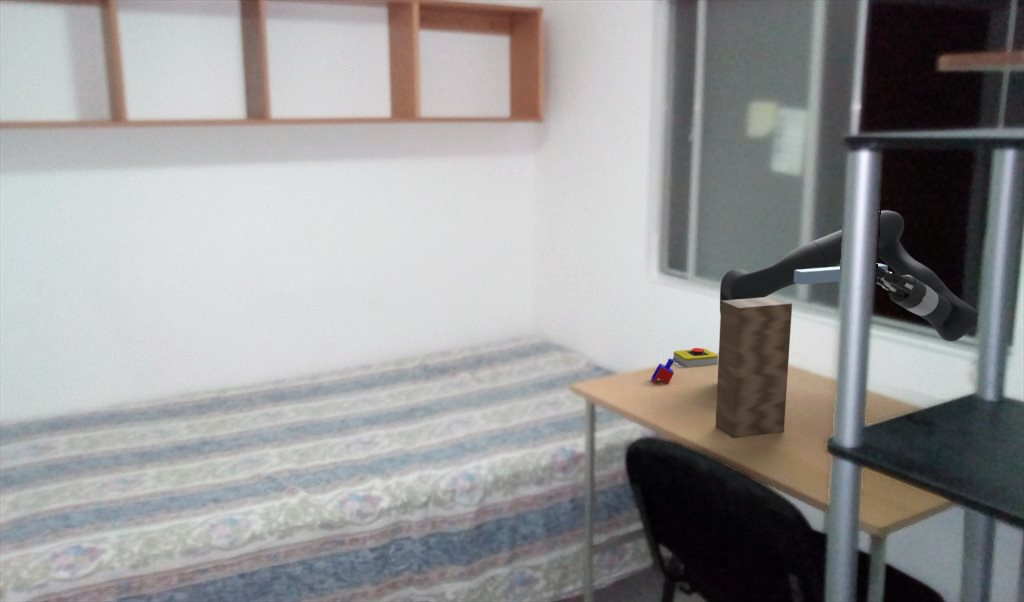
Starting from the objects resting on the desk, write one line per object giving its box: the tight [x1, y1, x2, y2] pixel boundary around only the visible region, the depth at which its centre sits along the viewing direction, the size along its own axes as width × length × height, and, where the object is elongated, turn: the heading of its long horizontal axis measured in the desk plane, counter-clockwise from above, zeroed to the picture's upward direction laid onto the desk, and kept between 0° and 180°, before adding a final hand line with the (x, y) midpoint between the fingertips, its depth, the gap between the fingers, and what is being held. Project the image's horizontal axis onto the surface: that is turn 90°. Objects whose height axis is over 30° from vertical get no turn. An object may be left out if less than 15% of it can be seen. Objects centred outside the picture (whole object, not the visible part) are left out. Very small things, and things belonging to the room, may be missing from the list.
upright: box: [715, 296, 793, 439], centre depth 194 cm, size 14×8×32 cm, turn 105°
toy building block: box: [650, 357, 675, 384], centre depth 233 cm, size 4×4×8 cm
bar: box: [794, 263, 889, 285], centre depth 195 cm, size 24×3×3 cm, turn 105°
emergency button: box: [666, 347, 719, 369], centre depth 252 cm, size 9×4×15 cm
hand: (866, 266), depth 196 cm, fingers closed on bar, 3 cm apart
